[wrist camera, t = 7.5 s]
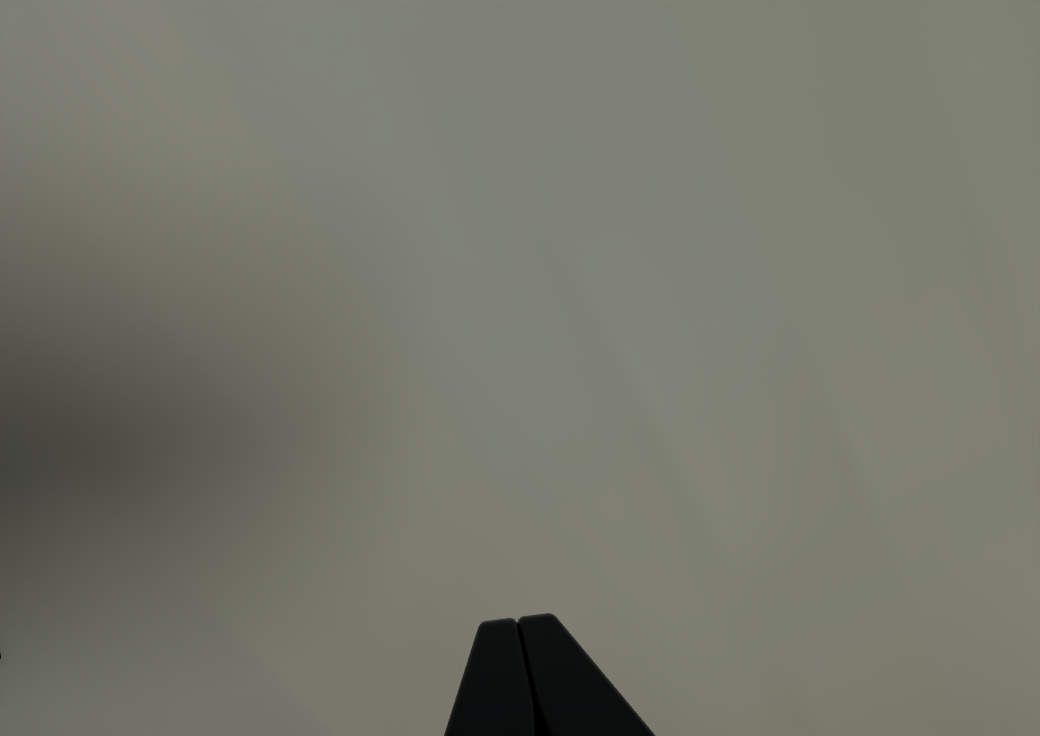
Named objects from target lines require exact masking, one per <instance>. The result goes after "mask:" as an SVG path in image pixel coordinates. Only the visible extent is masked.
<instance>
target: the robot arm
mask: <svg viewBox="0 0 1040 736" xmlns="http://www.w3.org/2000/svg"><path fill="white" fill-rule="evenodd" d="M0 659H1V654H0ZM444 736H655V734H654V733H653V732H652V731H651V730H650V729H649V727H648V726H647V725H646V724H645V723H644V721H643V720H642V719H641V718H640V717H639V715H638V714H637V713H636V712H635V711H634V709H633V708H632V707H631V706H630V705H629V703H628V702H627V701H626V700H625V699H624V697H623V696H622V695H621V694H620V693H619V691H618V690H617V689H616V688H615V687H614V685H613V684H612V683H611V682H610V681H609V679H608V678H607V677H606V676H605V675H604V673H603V672H602V671H601V670H600V669H599V667H598V666H597V665H596V664H595V663H594V661H593V660H592V659H591V658H590V657H589V655H588V654H587V653H586V652H585V651H584V650H583V648H582V647H581V646H580V645H579V644H578V642H577V641H576V640H575V639H574V638H573V636H572V635H571V634H570V633H569V632H568V630H567V629H566V628H565V627H564V626H563V624H562V623H561V622H560V621H559V620H558V619H557V617H556V616H554V615H553V614H550V613H546V614H538V615H530V616H523V617H521V618H520V619H519V620H518V622H516V621H515V619H513V618H506V619H498V620H490V621H484V622H482V623H481V624H480V626H479V627H478V630H477V633H476V636H475V639H474V643H473V646H472V649H471V652H470V655H469V658H468V662H467V665H466V668H465V671H464V674H463V677H462V680H461V684H460V687H459V690H458V693H457V696H456V699H455V703H454V706H453V709H452V712H451V715H450V718H449V721H448V725H447V728H446V731H445V734H444Z"/></svg>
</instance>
